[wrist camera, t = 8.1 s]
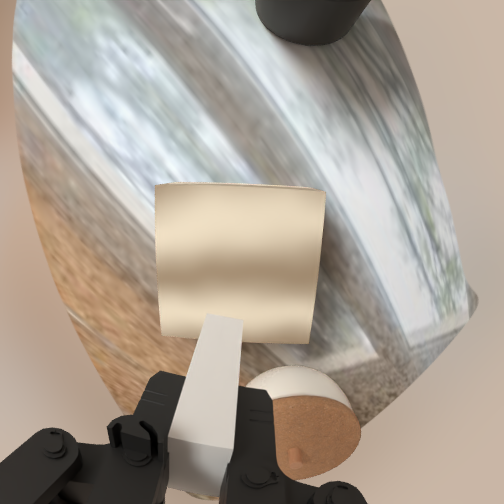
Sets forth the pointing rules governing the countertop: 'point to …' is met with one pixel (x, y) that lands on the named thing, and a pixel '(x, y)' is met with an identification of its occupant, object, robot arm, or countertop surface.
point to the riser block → (238, 258)
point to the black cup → (310, 19)
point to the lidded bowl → (309, 420)
